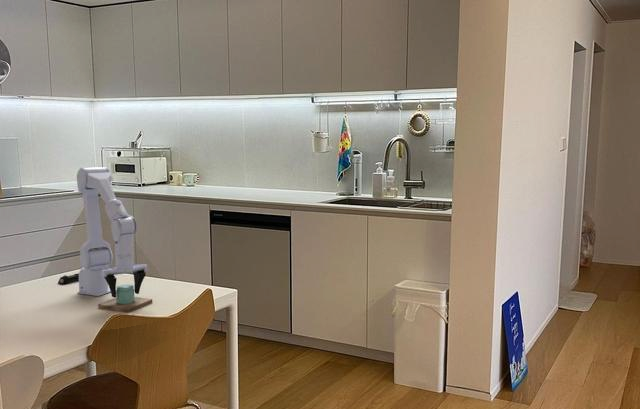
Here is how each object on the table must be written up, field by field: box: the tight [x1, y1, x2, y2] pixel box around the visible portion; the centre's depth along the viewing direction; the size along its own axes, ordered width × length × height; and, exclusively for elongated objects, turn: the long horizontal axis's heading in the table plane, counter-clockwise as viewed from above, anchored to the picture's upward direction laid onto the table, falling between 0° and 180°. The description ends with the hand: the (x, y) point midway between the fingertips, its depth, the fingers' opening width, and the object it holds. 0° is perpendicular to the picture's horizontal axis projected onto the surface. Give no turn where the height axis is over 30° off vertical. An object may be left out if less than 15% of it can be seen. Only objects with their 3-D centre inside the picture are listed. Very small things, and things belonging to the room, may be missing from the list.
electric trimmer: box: [57, 273, 79, 286], centre depth 229 cm, size 4×16×3 cm, turn 147°
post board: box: [97, 296, 153, 313], centre depth 198 cm, size 12×12×5 cm
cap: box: [115, 284, 135, 304], centre depth 198 cm, size 5×5×5 cm
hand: (125, 295), depth 197 cm, fingers open, 7 cm apart
